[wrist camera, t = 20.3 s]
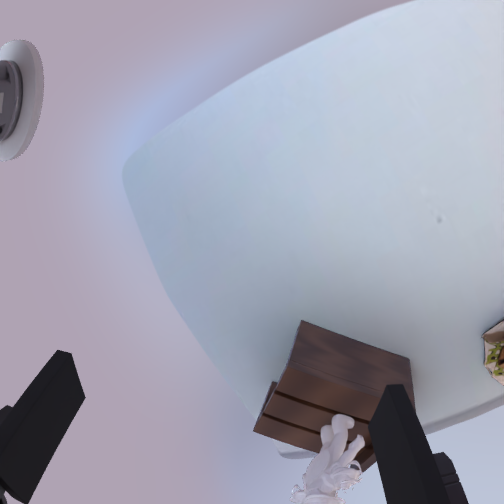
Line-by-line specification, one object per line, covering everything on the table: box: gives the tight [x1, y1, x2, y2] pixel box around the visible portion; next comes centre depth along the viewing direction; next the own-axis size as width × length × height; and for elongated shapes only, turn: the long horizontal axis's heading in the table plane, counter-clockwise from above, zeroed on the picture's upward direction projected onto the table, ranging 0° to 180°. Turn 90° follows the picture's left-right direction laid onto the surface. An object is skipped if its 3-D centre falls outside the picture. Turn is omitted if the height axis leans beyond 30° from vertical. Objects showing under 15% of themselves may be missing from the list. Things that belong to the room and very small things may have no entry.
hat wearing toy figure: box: [290, 414, 365, 504], centre depth 24 cm, size 9×4×12 cm, turn 154°
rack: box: [253, 320, 416, 475], centre depth 33 cm, size 14×12×10 cm
